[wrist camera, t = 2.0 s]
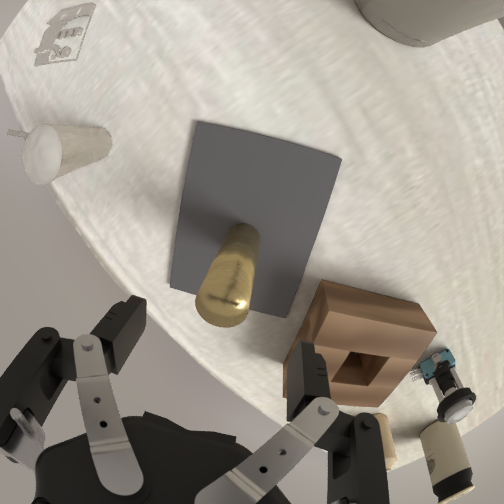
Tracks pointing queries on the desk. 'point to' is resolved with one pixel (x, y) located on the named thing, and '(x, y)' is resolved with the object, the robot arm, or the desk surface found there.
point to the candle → (387, 441)
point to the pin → (230, 278)
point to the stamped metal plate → (62, 34)
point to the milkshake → (61, 150)
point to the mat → (252, 209)
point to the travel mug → (446, 461)
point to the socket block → (363, 341)
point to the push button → (446, 387)
